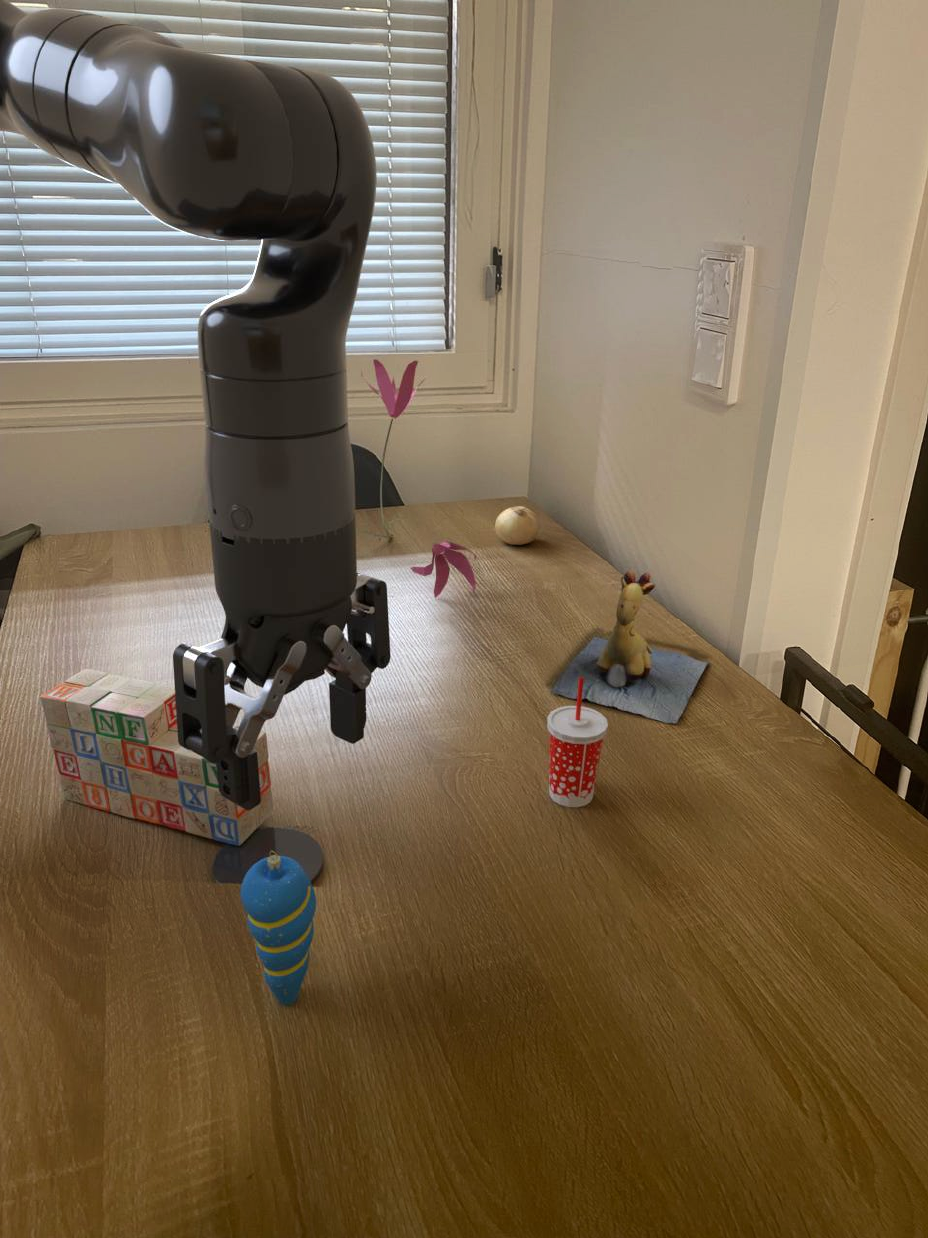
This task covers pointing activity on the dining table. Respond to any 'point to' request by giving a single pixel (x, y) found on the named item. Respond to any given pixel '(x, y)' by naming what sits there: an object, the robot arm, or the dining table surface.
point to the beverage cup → (574, 752)
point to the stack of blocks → (142, 758)
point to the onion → (517, 526)
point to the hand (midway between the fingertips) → (298, 768)
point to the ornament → (280, 922)
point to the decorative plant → (395, 408)
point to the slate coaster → (268, 853)
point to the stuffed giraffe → (632, 666)
